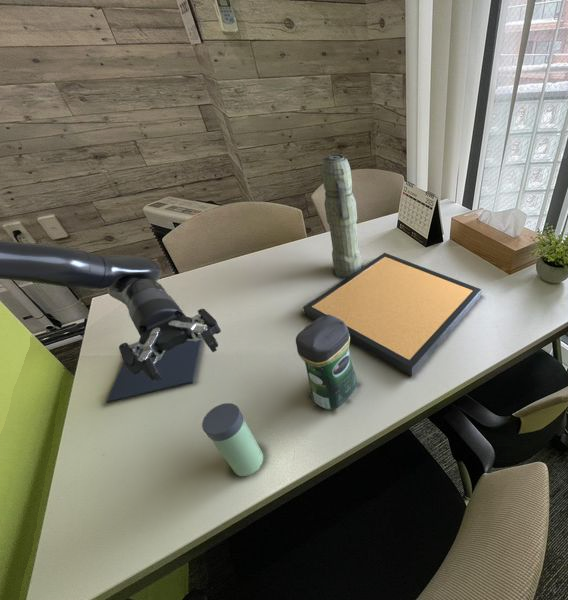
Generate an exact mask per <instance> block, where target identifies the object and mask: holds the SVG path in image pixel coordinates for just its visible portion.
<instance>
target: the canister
mask: <svg viewBox="0 0 568 600" xmlns="http://www.w3.org/2000/svg"><path fill="white" fill-rule="evenodd" d="M201 427H202V431H203V432H204V433H205V434H206V437H208V438H209V439H210V441H212V443H213V445H214V446H215V447H216V449H217V450H218V451H219V453H220V454H221V455H222V456H223V458H224V460H225V461H226V463H228V465H229V466H230V468H231V469H232V471H233V472H234V474H235V475H237V476H239V477H248V476H251V475H253V474H254V473H256V472H257V471H258V470H259V469H260V468H261V466H262V464H263V461H264V453H263V452H262V449H261V448H260V446H259V444H258V442H257V440H256V438H255V437H254V435H253V433H252V431H251V429H250V427H249V426H248V424H247V422H246V420H245V419H244V415H243V414H242V412H241V410H240V408H239V406H238V405H236V404H234V403H230V402H227V403H226V402H225V403H221V404H219V405H216V406H214V407H213V408H212V409H210V410H209V411H208V412H207V413H206V414H205V416H204V417H203V420H202V423H201Z"/></svg>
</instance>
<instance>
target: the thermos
mask: <svg viewBox="0 0 568 600" xmlns="http://www.w3.org/2000/svg"><path fill="white" fill-rule="evenodd" d="M321 175H322V176H321V177H322V182H323V189H324V190H325V192H324V195H325V196H324V197H325V198H324V205H323V206H324V210H325V217H326V223H327V224H328V226H329V232H330V240H331V246H332V247H331V248H332V250H331V257H332V258H331V259H332V265H333V267H334V273H335V275H336V277H339V278H343V279H346V278H347V277H349V276H350V275H352V274H353V273H355V272H356V271H358V270H359V269H361V268H362V264H363V263H362V254H361V253H362V252H361V250H360V249H359V240H358V230H357V228H358V227H357V222H358V210H357V201H356V198H355V196H354V192H353V190H352V188H353V181H352V180H353V179H352V170H351V165H350V163H349V160H348V158H347V157H346V156H344V155H342V154H329V155H326V156H325V157H324V158H322V163H321Z"/></svg>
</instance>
